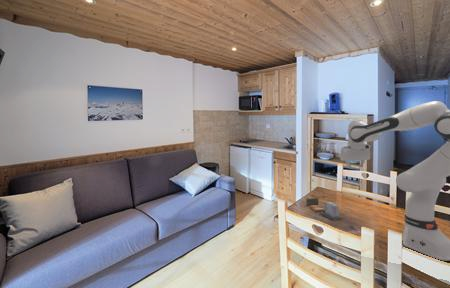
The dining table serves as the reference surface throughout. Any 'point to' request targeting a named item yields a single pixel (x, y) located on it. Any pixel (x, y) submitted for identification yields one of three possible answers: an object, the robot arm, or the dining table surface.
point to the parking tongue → (329, 216)
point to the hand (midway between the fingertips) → (355, 167)
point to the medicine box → (331, 209)
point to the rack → (314, 202)
